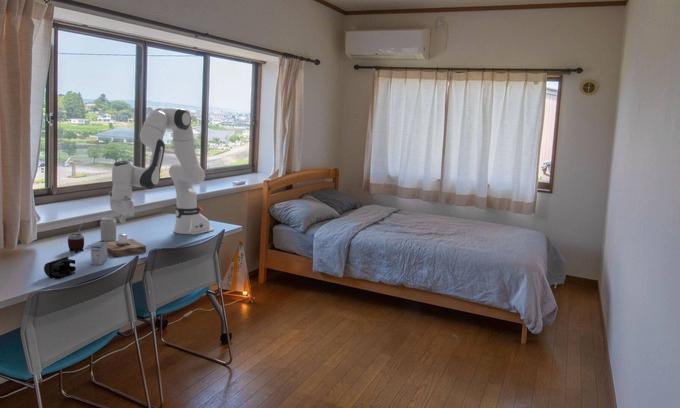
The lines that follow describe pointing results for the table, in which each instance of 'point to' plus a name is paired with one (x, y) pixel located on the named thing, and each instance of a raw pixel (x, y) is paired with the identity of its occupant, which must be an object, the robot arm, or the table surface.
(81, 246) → the mate gourd
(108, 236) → the can
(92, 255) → the medicine box
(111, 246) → the block
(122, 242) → the cylinder
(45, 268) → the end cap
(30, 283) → the table surface
